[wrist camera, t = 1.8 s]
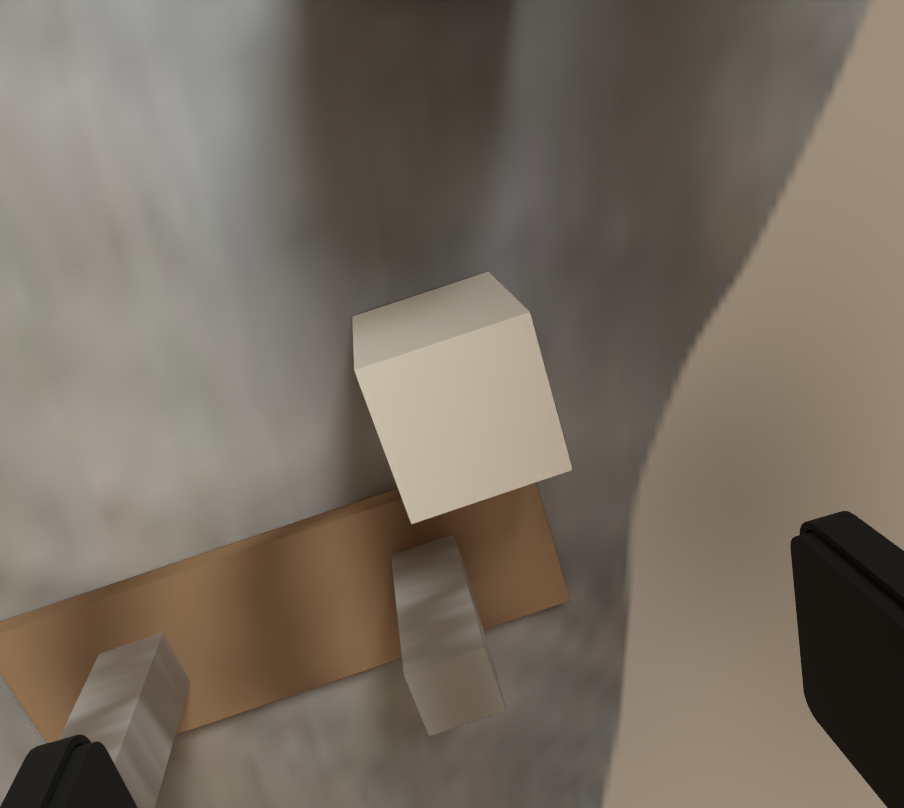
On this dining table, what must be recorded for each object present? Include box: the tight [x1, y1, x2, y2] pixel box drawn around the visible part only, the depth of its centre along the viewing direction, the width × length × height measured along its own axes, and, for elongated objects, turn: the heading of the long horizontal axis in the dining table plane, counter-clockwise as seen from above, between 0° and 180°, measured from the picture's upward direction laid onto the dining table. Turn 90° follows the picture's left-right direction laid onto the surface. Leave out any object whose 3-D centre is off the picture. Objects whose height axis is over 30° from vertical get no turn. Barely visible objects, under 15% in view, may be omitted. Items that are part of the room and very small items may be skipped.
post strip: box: [0, 482, 570, 808], centre depth 27 cm, size 22×7×8 cm, turn 107°
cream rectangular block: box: [352, 272, 572, 524], centre depth 25 cm, size 5×5×7 cm
